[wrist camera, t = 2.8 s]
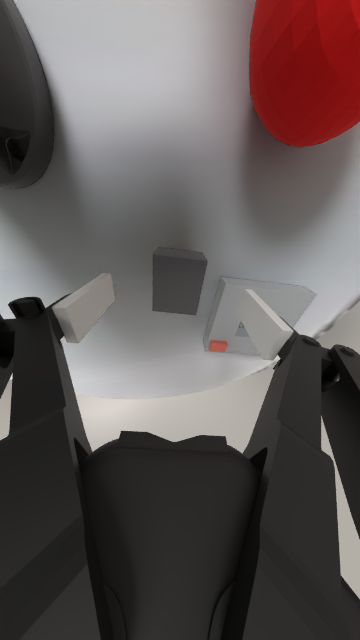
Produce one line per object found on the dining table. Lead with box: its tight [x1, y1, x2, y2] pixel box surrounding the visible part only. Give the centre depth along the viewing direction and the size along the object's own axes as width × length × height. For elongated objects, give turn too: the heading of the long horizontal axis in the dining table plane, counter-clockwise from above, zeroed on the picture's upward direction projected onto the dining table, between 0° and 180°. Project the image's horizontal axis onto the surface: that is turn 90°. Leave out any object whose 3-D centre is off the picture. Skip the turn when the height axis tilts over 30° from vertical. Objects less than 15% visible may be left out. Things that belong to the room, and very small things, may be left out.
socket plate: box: [203, 277, 317, 356], centre depth 26 cm, size 14×14×4 cm
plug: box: [153, 247, 207, 315], centre depth 19 cm, size 6×5×9 cm
